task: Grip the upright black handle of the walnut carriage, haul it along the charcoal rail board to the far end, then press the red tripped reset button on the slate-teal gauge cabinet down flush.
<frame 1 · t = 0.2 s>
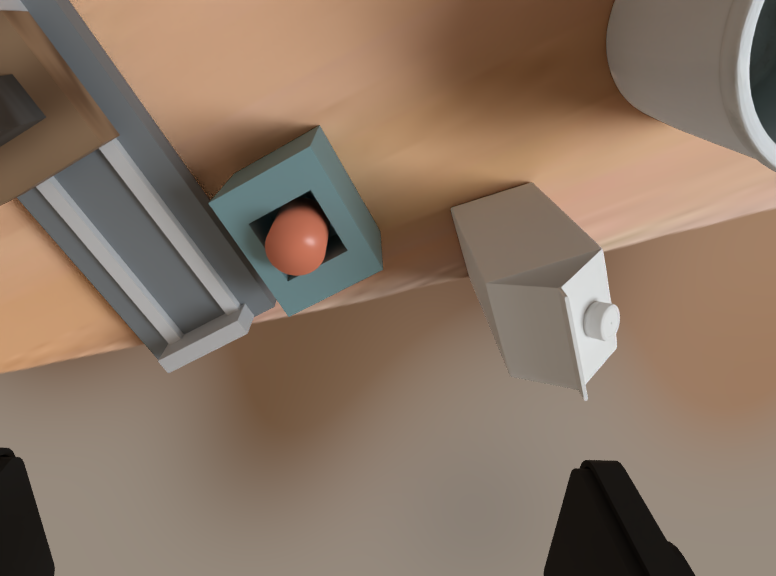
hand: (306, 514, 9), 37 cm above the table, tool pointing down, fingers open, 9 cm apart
rail board: (120, 193, 44), on the table
reset button: (299, 235, 38), point 8 cm above the table, slide at 0.0 cm
utensil holder: (691, 26, 40), on the table
gauge cabinet: (309, 203, 45), on the table
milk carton: (499, 231, 47), on the table
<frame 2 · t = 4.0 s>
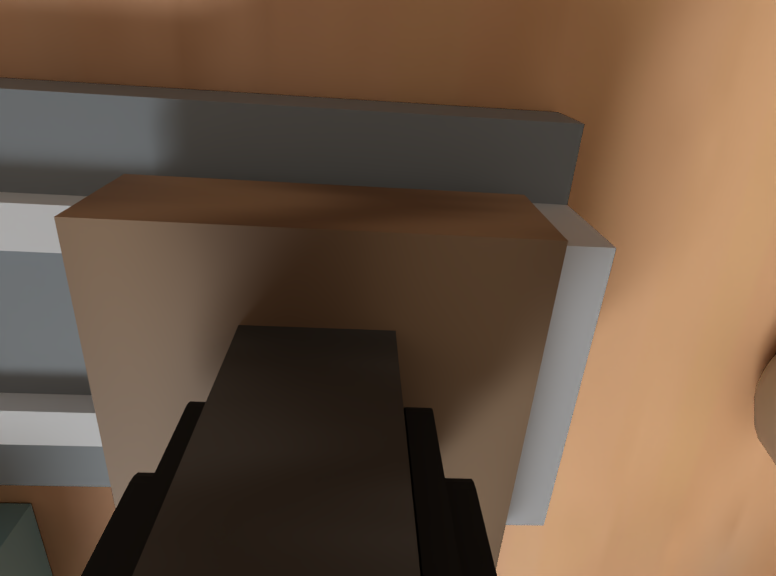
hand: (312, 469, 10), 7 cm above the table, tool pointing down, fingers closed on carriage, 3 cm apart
rail board: (68, 289, 16), on the table
carriage: (307, 505, 10), point 8 cm above the table, slide at 0.0 cm, touching gripper
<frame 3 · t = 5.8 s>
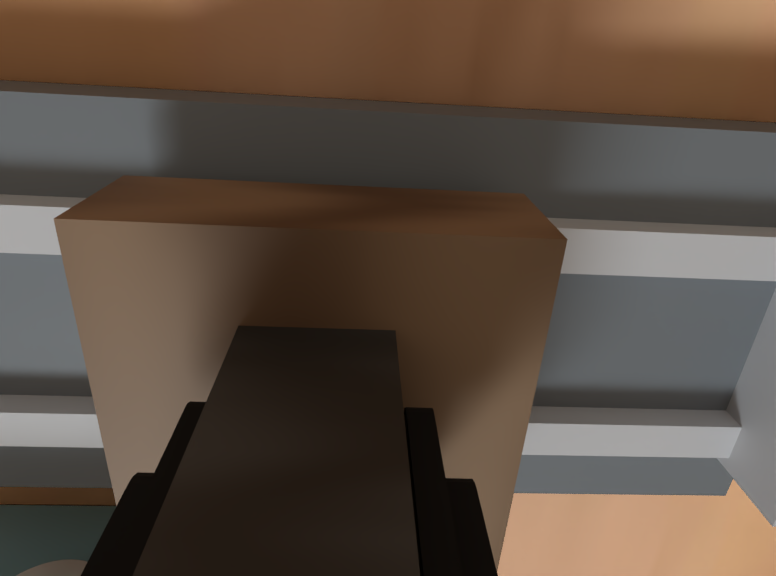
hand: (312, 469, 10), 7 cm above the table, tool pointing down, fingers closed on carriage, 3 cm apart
rail board: (319, 299, 17), on the table
carriage: (308, 505, 10), point 8 cm above the table, slide at 7.6 cm, touching gripper
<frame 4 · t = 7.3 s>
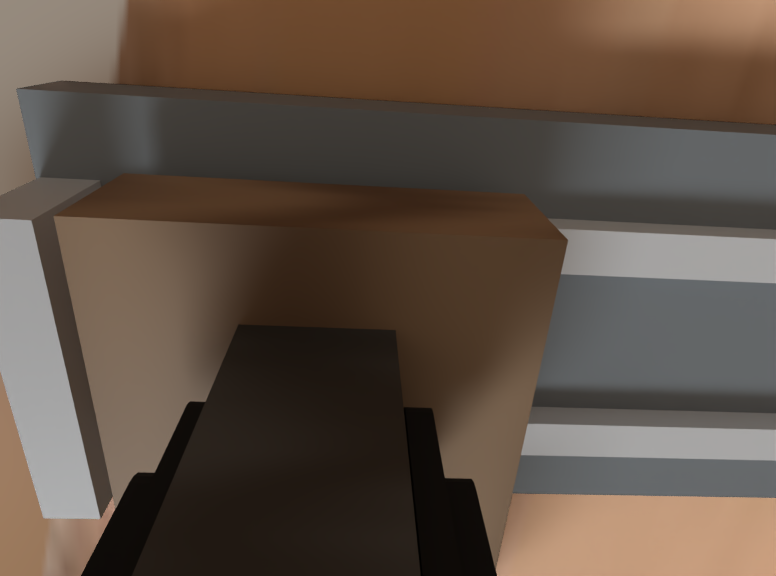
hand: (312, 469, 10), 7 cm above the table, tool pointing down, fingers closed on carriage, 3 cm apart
rail board: (549, 307, 17), on the table
carriage: (307, 504, 10), point 8 cm above the table, slide at 14.9 cm, touching gripper
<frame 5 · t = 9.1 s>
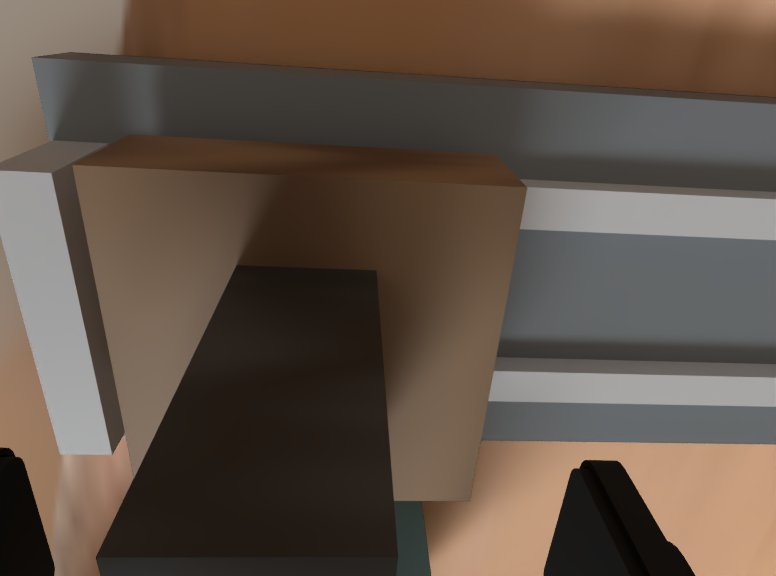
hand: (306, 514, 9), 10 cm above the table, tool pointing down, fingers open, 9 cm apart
rail board: (524, 267, 19), on the table
carriage: (299, 420, 11), point 8 cm above the table, slide at 15.0 cm
gauge cabinet: (296, 527, 24), on the table
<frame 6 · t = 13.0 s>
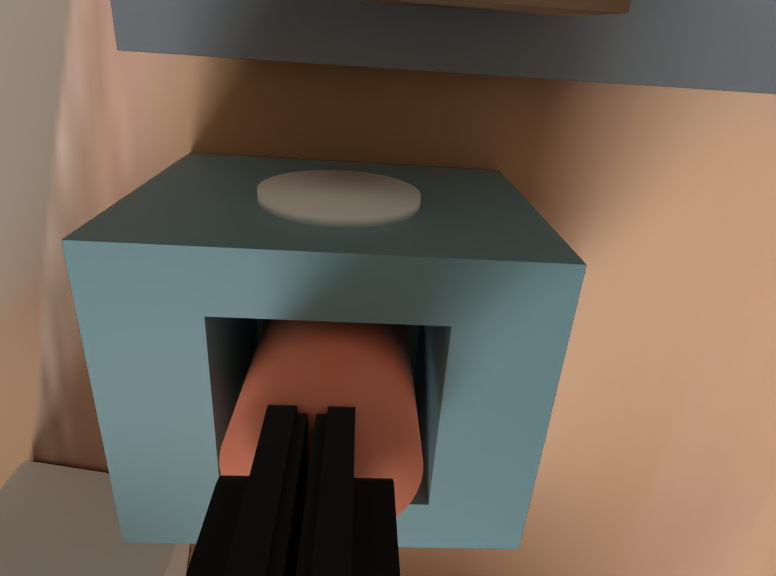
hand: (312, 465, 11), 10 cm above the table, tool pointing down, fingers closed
reset button: (330, 393, 13), point 7 cm above the table, slide at 0.5 cm, touching gripper
gauge cabinet: (343, 274, 19), on the table
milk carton: (113, 525, 24), on the table
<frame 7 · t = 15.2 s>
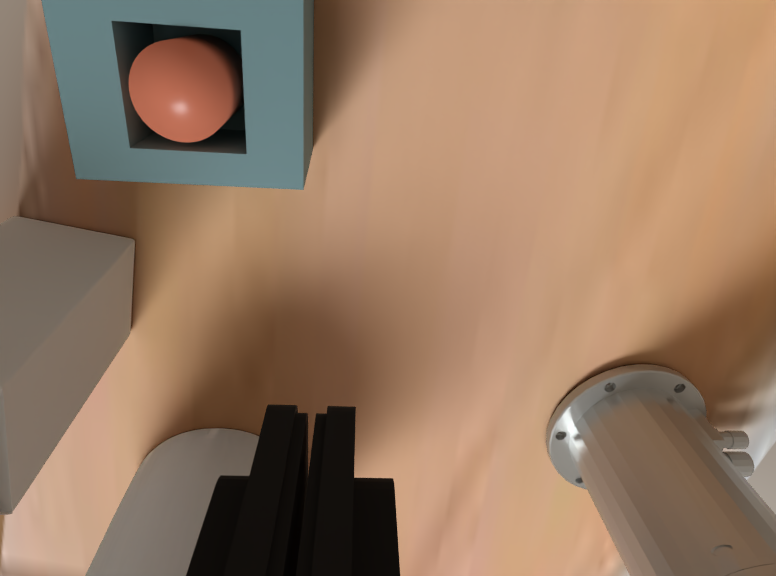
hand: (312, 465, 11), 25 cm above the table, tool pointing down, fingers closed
reset button: (194, 85, 24), point 6 cm above the table, slide at 1.5 cm
utensil holder: (224, 486, 44), on the table
gauge cabinet: (221, 71, 30), on the table
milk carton: (77, 275, 35), on the table
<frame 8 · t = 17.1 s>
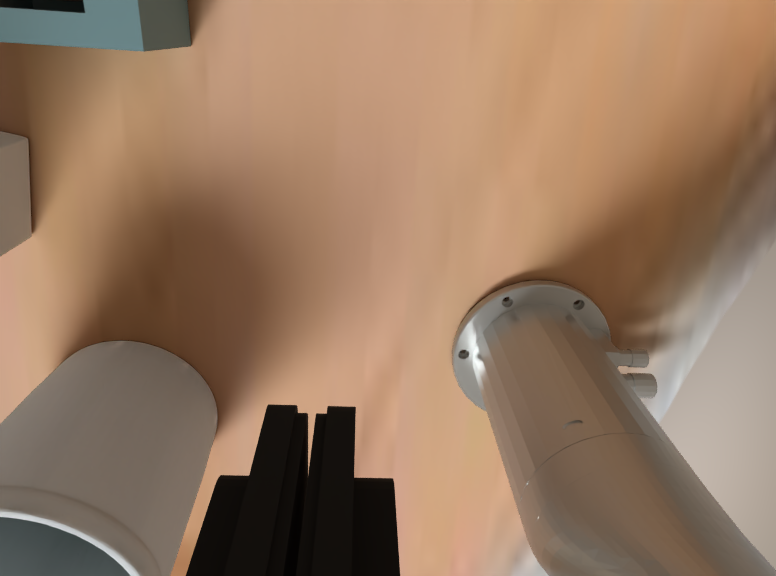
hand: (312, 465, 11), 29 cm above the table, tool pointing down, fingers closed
utensil holder: (137, 405, 45), on the table
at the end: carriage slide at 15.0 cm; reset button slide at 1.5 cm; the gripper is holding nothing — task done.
